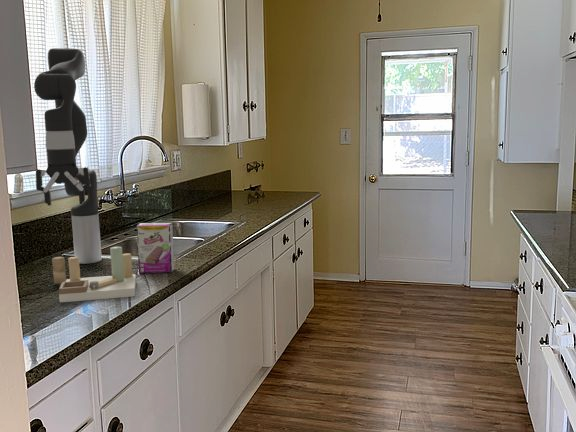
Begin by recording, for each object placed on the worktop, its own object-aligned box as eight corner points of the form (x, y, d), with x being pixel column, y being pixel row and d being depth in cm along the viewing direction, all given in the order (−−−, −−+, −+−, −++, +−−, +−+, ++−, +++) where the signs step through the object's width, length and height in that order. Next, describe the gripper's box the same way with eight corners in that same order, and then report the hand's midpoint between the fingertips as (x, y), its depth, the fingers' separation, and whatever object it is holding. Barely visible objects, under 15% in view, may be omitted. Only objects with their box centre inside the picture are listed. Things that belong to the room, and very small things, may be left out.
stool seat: (67, 286, 179) (64, 256, 178) (135, 281, 184) (134, 252, 182) (59, 302, 164) (56, 270, 162) (134, 296, 169) (132, 265, 167)
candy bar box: (138, 274, 192) (135, 225, 190) (141, 270, 197) (139, 222, 195) (172, 273, 193) (170, 224, 190) (174, 269, 198) (172, 222, 195)
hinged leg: (95, 289, 167) (92, 255, 165) (87, 287, 168) (84, 254, 167) (126, 279, 177) (124, 247, 175) (118, 277, 178) (116, 246, 177)
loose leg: (55, 281, 185) (53, 257, 183) (67, 280, 186) (65, 256, 184) (53, 284, 181) (51, 260, 180) (65, 283, 182) (63, 259, 181)
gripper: (88, 145, 167) (92, 201, 170) (35, 147, 164) (40, 203, 167) (86, 147, 160) (90, 205, 163) (30, 148, 157) (36, 207, 160)
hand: (65, 204), depth 165 cm, fingers open, 8 cm apart
